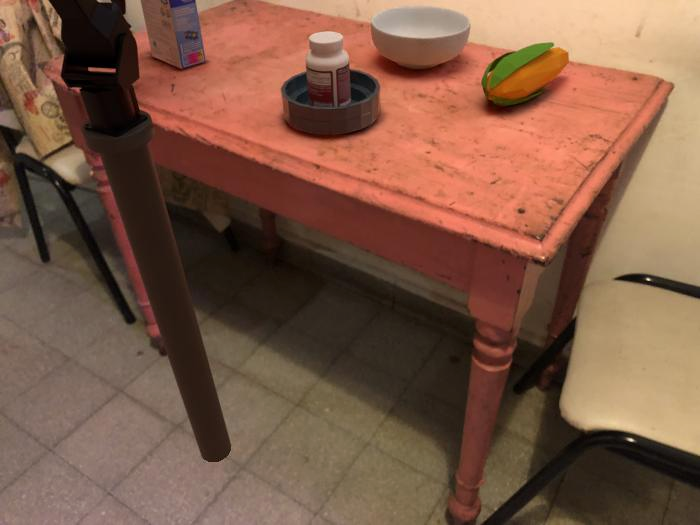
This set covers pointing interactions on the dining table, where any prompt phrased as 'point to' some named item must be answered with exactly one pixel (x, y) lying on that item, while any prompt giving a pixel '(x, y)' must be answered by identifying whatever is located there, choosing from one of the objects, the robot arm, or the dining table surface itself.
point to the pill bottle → (328, 70)
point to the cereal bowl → (420, 35)
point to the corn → (523, 73)
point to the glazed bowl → (331, 118)
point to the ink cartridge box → (174, 31)
